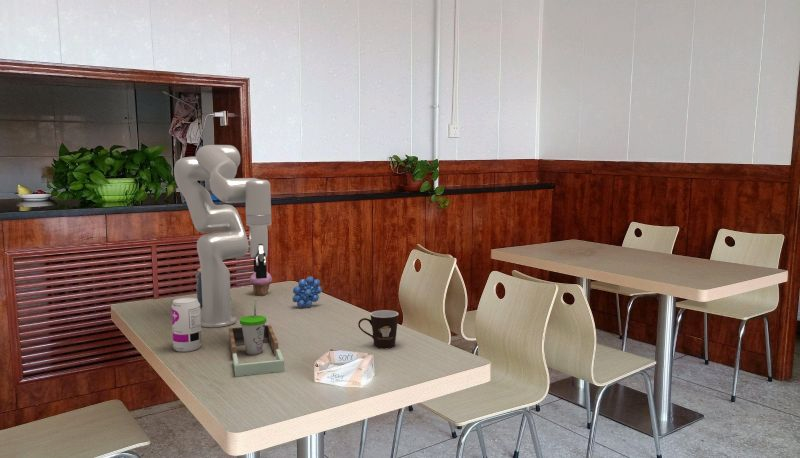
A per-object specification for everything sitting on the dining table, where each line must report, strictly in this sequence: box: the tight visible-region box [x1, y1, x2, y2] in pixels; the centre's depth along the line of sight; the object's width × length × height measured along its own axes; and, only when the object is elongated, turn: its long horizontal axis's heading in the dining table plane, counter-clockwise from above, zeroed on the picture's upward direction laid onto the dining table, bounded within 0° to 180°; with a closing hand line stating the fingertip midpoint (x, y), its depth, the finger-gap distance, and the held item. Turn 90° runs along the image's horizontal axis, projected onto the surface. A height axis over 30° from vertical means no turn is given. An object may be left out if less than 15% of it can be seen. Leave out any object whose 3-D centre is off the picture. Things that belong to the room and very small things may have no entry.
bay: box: [232, 348, 285, 377], centre depth 173 cm, size 10×13×3 cm
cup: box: [239, 299, 267, 356], centre depth 185 cm, size 8×8×15 cm
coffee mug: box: [357, 309, 399, 350], centre depth 193 cm, size 12×9×10 cm
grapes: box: [292, 275, 323, 308], centre depth 240 cm, size 12×7×12 cm, turn 115°
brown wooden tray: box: [228, 324, 279, 361], centre depth 190 cm, size 20×13×4 cm, turn 18°
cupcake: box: [249, 271, 273, 296], centre depth 261 cm, size 9×9×10 cm
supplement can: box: [170, 296, 203, 353], centre depth 190 cm, size 8×8×15 cm
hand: (260, 275), depth 194 cm, fingers open, 9 cm apart
